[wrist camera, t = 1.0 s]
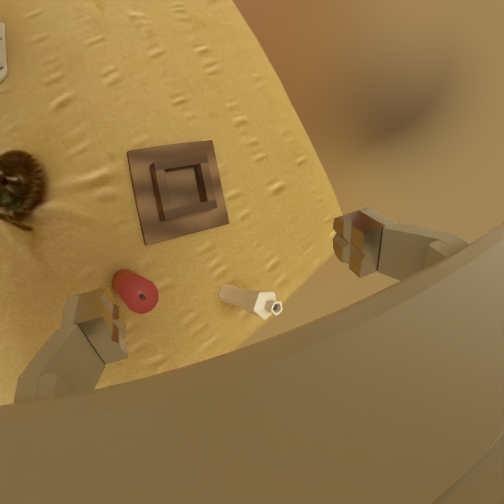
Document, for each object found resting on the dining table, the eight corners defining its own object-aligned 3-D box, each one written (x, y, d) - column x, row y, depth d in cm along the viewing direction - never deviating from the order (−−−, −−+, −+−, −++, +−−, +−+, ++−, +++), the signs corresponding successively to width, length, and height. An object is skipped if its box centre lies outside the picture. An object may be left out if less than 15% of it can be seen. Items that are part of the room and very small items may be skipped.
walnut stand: (126, 152, 44) (131, 145, 41) (209, 141, 53) (219, 135, 49) (145, 245, 47) (150, 245, 44) (226, 223, 55) (237, 222, 52)
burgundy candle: (109, 273, 44) (121, 285, 32) (133, 265, 46) (155, 275, 34) (117, 299, 44) (132, 320, 33) (140, 291, 47) (164, 308, 35)
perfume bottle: (216, 305, 55) (263, 324, 42) (217, 282, 55) (265, 295, 42) (237, 305, 57) (287, 322, 45) (239, 282, 57) (289, 294, 45)
